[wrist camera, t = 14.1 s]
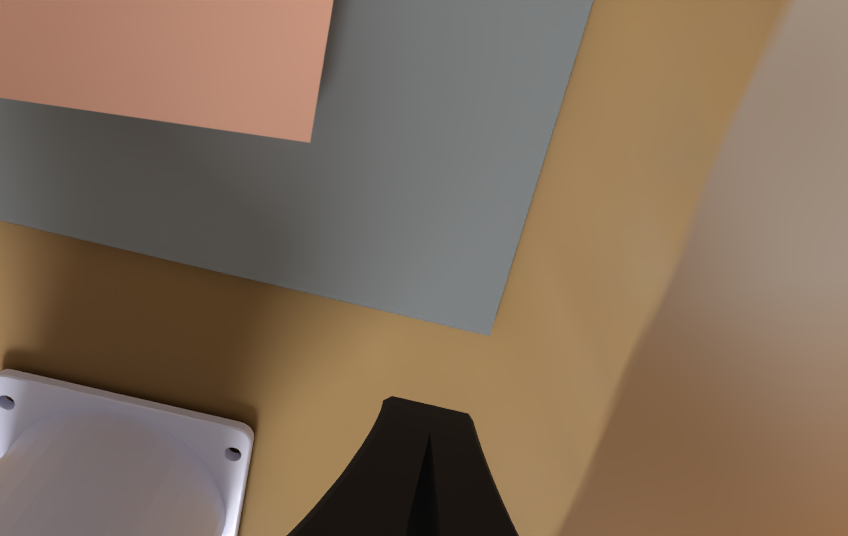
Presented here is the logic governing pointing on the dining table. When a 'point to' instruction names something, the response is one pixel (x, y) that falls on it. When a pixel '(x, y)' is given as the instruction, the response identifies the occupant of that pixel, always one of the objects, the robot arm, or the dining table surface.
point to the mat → (332, 164)
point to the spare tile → (171, 60)
